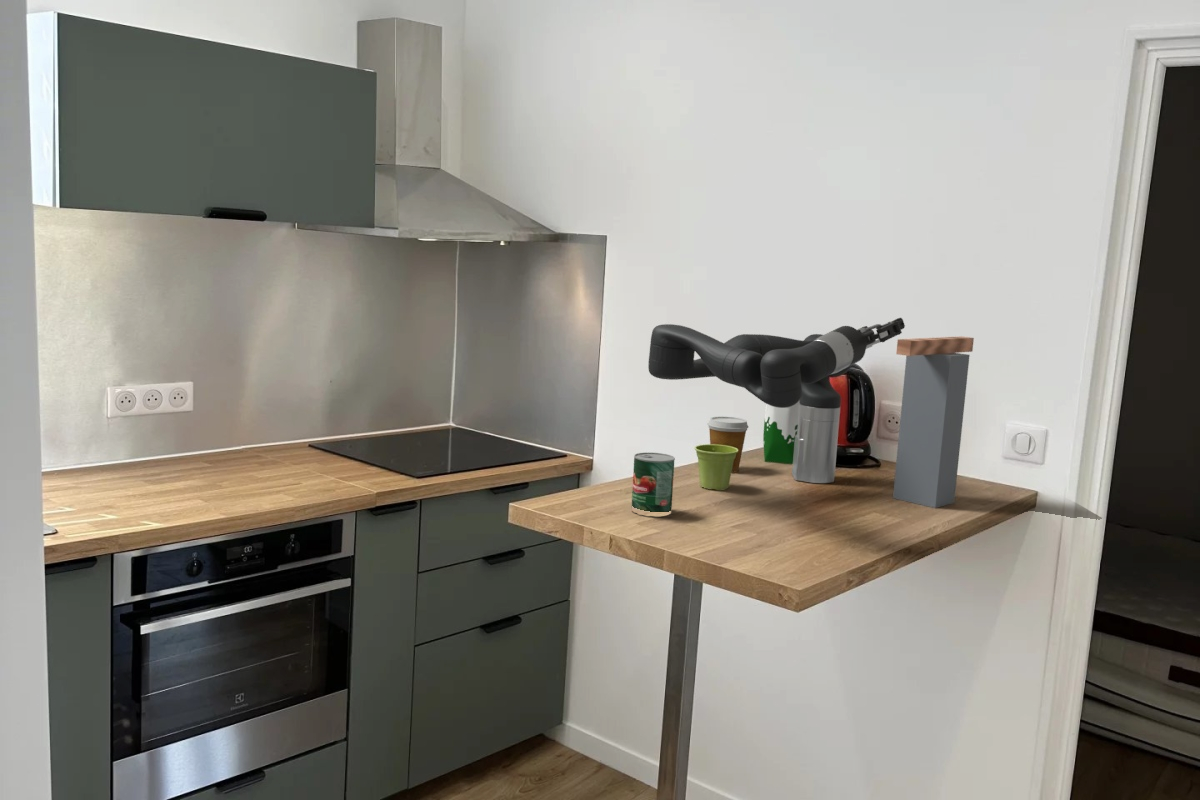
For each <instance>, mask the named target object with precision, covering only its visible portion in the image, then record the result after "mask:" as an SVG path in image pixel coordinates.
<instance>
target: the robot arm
mask: <svg viewBox="0 0 1200 800" xmlns="http://www.w3.org/2000/svg"><path fill="white" fill-rule="evenodd" d="M905 327H906V325H905V322H904V319H903V318H902V317H899V318H895V319H894V320H892V321H888V322H887V323H884V324H881V323H876V324H873V325H871V326H867V325H865V326H862V327H860V328H858V329H856V328H855V327H853V326H849V325H842V326H840V327H838V328H835V329H833V330H831V331H829V332H826V333H824V334H818V333H815V334H814V333H813V334H810V335H808V336H806V337H805V338H804V340H800V339H795V338H790V337H783V336H778V335H769V334H760V333H759V334H756V333H755V334H750V333H749V334H748V333H747V334H746V333H743V334H737V335H736V336H734V337H732V338H730V339H728V340H727V341H725V342H722V341H720V340H718V339H716V338H714V337H711V336H709V335H707V334H705V333H702V332H700V331H698V330H695V329H693V328H691V327H688V326H684V325H680V324H671V323H670V324H669V323H668V324H667V323H665V324H659V325H656V326H655V327H654V328H653V329H652V333H651V336H650V344H649V345H650V346H649V353H648V354H649V355H648V367H647V368H648V372H649V374H650V375H651V376H652V377H654V378H656V379H661V380H671V381H673V380H675V381H676V380H689V379H690V380H691V379H700V378H702V379H704V378H711V377H712V378H714V377H716V378H717V379H719V380H720V381H722V382H724V383H727V384H730V385H733V386H737V387H741V388H743V389H745V390H746V391H747V392H748V393H751V394H752V395H753V396H754V397H755V398H757V399H759V400H760V401H761V402H763V403H764V404H765V405H766V404H768V405H771V406H774V407H778V408H787V407H791V406H793V405H795V404H796V403H797V402H798V401H799V400H800V402H799V403H800V404H799V415H798V427H797V435H795V442H794V454H793V464H792V468H791V476H792V477H793V479H794V480H795V481H799V482H800V481H801V482H805V483H813V484H830V483H834V481H835V475H836V463H837V453H838V452H837V451H838V440H839V439H838V437H839V428H840V414H841V406H842V396H841V394H840V393H839V392H838V391H837V390H836V389H835V388H834V387H833V386H832V384H831V381H830V380H831V379H830V378H837V377H841V376H842V375H845V374H846V373H847V372H848V371H849V370H850V369H851V367H852V366H853V365H854V364H857V363H858V362H860V361H861V360H862V359H863V358H864V357H865V354H866V350H867V349H870V348H872V347H873V346H874V345H876V344H879V343H885V342H886V341H888V340H890V339H892V338H894V337H896V336H898V335H901V334H902V333H903V332H902V330H903V329H905ZM873 329H876V332H875V331H874V330H873ZM695 354H697V355H698V356H699V358H697V359H695Z"/></svg>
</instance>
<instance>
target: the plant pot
mask: <svg viewBox="0 0 1200 800" xmlns="http://www.w3.org/2000/svg"><path fill="white" fill-rule="evenodd" d="M694 450H695V451H696V457H697V462H698V472H699V474H698V475H699V486H700V487H701V486H702V487H704V488H703V489H705V488H708V489H711V490H716V491H723V490H727V489H729V487H730V486H729V485H730V481H731V478H732V473H731V472H732V467H733V462H734V459H735V457H736V453H738V449H737V448H734V447H731V446H725V445H715V444H710V443H709V444H699V445H695V446H694ZM702 487H701V488H702ZM708 489H707V490H708Z"/></svg>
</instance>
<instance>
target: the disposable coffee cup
mask: <svg viewBox="0 0 1200 800" xmlns="http://www.w3.org/2000/svg"><path fill="white" fill-rule="evenodd" d="M708 421H709V422H708V423H707V426H708V428H709V444H715V445H725V446H731V447H734V448H737V449H738V453H736V457H735V459H734V462H733V467H732V472H731V474H732V473H737V472H739V469H740V464H741V458H742V453H743V448H744V443H745V440H746V434H747V431H748V429H749V425H748V420H746V419H743V418H740V417H734V416H713V417H710V418H709V420H708Z"/></svg>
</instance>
